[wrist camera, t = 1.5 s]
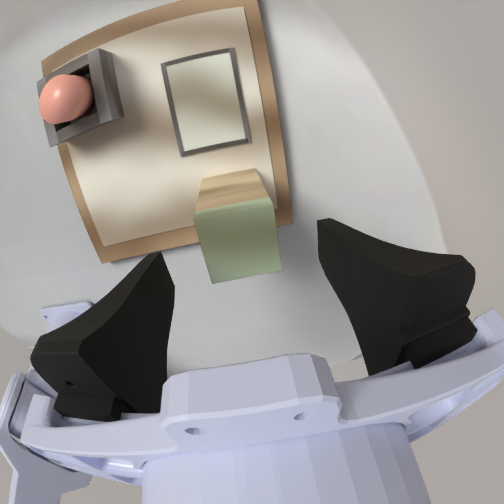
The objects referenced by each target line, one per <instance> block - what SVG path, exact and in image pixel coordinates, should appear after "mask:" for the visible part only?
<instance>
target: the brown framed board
mask: <svg viewBox="0 0 504 504" xmlns="http://www.w3.org/2000/svg"><path fill="white" fill-rule="evenodd" d="M41 62H42V71H43V78H42V79H41V80H39V81H38V82H37V88H38V94H39V99H40V95H41V92H42V90H43V88H44V86H45V85H46V84H47V83H48V81H49V80H51V79H52V78H53V77H55V76H57V75H61V74H66V75H77V76H86V77H89V78H90V79H91V80H92V86H93V91H94V96H95V101H96V102H95V105H94V107H93V108H92V110H91V111H90V112H89V113H88V114H87V115H86V116H84V117H83V118H80V119H76V120H71V121H67V122H63V123H58V124H50V123H48V122H46V121H45V120H44V119H43V120H44V125H45V129H46V133H47V137H48V141H49V145H50V147H53V146H55V145H57V146H58V150H59V153H60V157H61V160H62V163H63V167H64V170H65V173H66V176H67V179H68V182H69V185H70V188H71V191H72V194H73V196H74V199H75V202H76V204H77V207H78V210H79V212H80V215H81V217H82V220H83V222H84V225H85V227H86V229H87V232H88V234H89V236H90V239H91V241H92V243H93V245H94V248H95V250H96V252H97V254H98V256H99V258H100V261H101V263H107V262H111V261H115V260H120V259H124V258H129V257H133V256H138V255H142V254H147V253H151V252H156V251H160V250H165V249H170V248H174V247H179V246H184V245H188V244H193V243H198V242H199V239H198V236H197V232H196V229H195V225H194V222H193V219H194V214H195V209H196V205H197V200H198V195H199V191H200V186H201V182H202V178H207V177H211V176H216V175H221V174H226V173H230V172H235V171H241V170H246V169H251V168H255V170H256V172H257V174H258V176H259V178H260V180H261V182H262V184H263V186H264V188H265V190H266V191H267V193H268V195H269V197H270V199H271V201H272V203H273V207H274V215H275V222H276V227H278V226H283V225H288V224H293V221H292V212H291V203H290V194H289V186H288V178H287V170H286V162H285V154H284V147H283V140H282V133H281V126H280V120H279V113H278V107H277V100H276V94H275V88H274V82H273V77H272V71H271V66H270V60H269V55H268V50H267V44H266V39H265V34H264V29H263V25H262V20H261V15H260V11H259V6H258V2H257V0H182V1H178V2H174V3H170V4H166V5H163V6H159V7H156V8H153V9H149V10H146V11H143V12H140V13H137V14H135V15H132V16H129V17H127V18H124V19H121V20H119V21H116V22H114V23H112V24H109V25H107V26H105V27H102V28H100V29H98V30H96V31H94V32H92V33H90V34H88V35H86V36H84V37H82V38H80V39H78V40H76V41H74V42H72V43H70V44H69V45H67V46H65V47H63V48H62V49H60V50H58V51H56V52H55V53H53V54H52V55H50V56H48V57H47V58H45V59H44V60H42V61H41Z"/></svg>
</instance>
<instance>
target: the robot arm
mask: <svg viewBox="0 0 504 504" xmlns="http://www.w3.org/2000/svg"><path fill="white" fill-rule="evenodd" d="M317 230H318V253H319V260H320V263H321V265H322V268H323V270H324V273H325V275H326V277H327V279H328V280H329V282H330V284H331V286H332V287H333V289H334V291H335V293H336V294H337V296H338V298H339V299H340V301H341V303H342V305H343V307H344V308H345V310H346V312H347V314H348V316H349V319H350V321H351V324H352V326H353V329H354V331H355V334H356V337H357V340H358V342H359V345H360V348H361V351H362V354H363V358H364V360H365V364H366V367H367V371H368V375H369V377H366V378H363V379H359V380H352V381H345V382H334V379H333V376H332V374H331V371H330V368H329V366H328V363H327V361H326V359H325V358H322V357H319V356H316V355H313V354H310V353H299V354H286V355H281V356H277V357H272V358H267V359H261V360H256V361H250V362H244V363H238V364H232V365H225V366H219V367H211V368H203V369H195V370H189V371H186V372H182V373H178V374H175V375H172V376H171V377H170V378H169V379H168V380H167V346H168V339H169V332H170V326H171V321H172V315H173V309H174V298H175V286H174V283H173V281H172V278H171V276H170V273H169V271H168V268H167V266H166V263H165V261H164V258H163V256H162V253H161V252H156V253H152V254H149V255H147V256H146V257H145V258H144V259H143V260H142V261H141V262H139V263H138V264H137V266H136V267H135V268H134V269H133V270H132V271H131V272H130V273H129V274H128V275H127V276H126V277H125V278H124V279H123V280H122V281H121V282H120V283H119V284H118V285H116V286H115V287H114V288H113V289H112V290H111V291H110V292H109V293H108V294H107V295H106V296H105V297H103V298H102V299H101V300H100V301H98V302H97V303H96V304H95V305H93V306H92V304H91V303H90V302H81V303H74V304H68V305H62V306H55V307H49V308H43V309H41V314H42V316H43V317H44V318H45V320H46V321H47V323H48V324H49V327H48V329H47V331H46V333H45V334H44V335H42V336H40V337H39V339H38V341H37V343H36V345H35V347H34V350H33V352H32V354H31V358H30V359H31V365H30V367H29V370H28V372H27V373H26V375H24V374H23V373H22V372H19V373H14V374H13V375H12V377H11V380H10V382H9V384H8V387H7V389H6V391H5V394H4V397H3V399H2V402H1V405H0V450H1V452H2V453H3V455H4V457H5V458H6V460H7V461H8V462H9V464H10V465H11V467H12V468H13V470H14V471H13V476H12V482H11V488H10V495H9V503H8V504H60V497H61V494H62V493H65V492H69V491H73V490H77V489H80V488H84V487H86V486H88V485H89V483H90V481H91V479H92V475H95V476H98V477H102V478H106V479H110V480H115V481H118V482H123V483H128V484H133V485H138V486H142V504H431V501H430V498H429V495H428V492H427V489H426V486H425V483H424V480H423V478H422V475H421V472H420V469H419V467H418V464H417V461H416V459H415V456H414V453H413V451H412V448H411V446H410V443H411V442H413V441H415V440H417V439H419V438H420V437H422V436H424V435H426V434H427V433H429V432H431V431H432V430H434V429H436V428H437V427H439V426H441V425H442V424H444V423H445V422H447V421H448V420H450V419H451V418H453V417H454V416H456V415H457V414H459V413H460V412H461V411H463V410H464V409H466V408H467V407H469V406H470V405H471V404H473V403H474V402H476V401H477V400H478V399H479V398H481V397H482V396H484V395H485V394H486V393H487V392H489V391H490V390H491V389H492V388H494V387H495V386H496V385H497V384H498V383H499V382H500V381H501V379H502V378H503V377H504V320H503V319H502V318H501V316H500V315H499V314H498V313H497V312H496V311H495V309H494V308H491V309H490V310H488V311H486V312H485V313H483V314H481V315H479V316H478V317H476V318H475V319H474V321H473V322H471V320H470V319H469V318H468V316H469V315H470V311H469V310H468V308H467V307H466V304H467V302H468V299H469V297H470V294H471V292H472V289H473V286H474V283H475V269H474V267H473V266H472V265H471V264H470V263H469V262H468V261H467V260H466V259H465V258H464V257H463V256H461V255H451V254H437V253H430V252H423V251H418V250H413V249H409V248H404V247H401V246H397V245H394V244H391V243H388V242H385V241H382V240H379V239H377V238H374V237H372V236H369V235H367V234H364V233H362V232H360V231H358V230H356V229H353V228H351V227H349V226H347V225H345V224H343V223H341V222H338V221H336V220H334V219H331V218H327V219H322V220H317ZM10 433H11V434H12V435H14V436H15V437H17V438H19V439H20V440H21V442H22V443H24V444H25V445H26V446H28V447H30V448H31V449H33V450H34V451H33V450H31V449H30V448H28V447H26V446H24V445H23V444H21V443H19V442H18V441H16V440H15V439H14V438H13V437H12V436H11V435H10ZM35 451H36V452H35ZM37 452H38V453H37Z"/></svg>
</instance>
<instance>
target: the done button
mask: <svg viewBox="0 0 504 504" xmlns="http://www.w3.org/2000/svg"><path fill="white" fill-rule="evenodd" d="M95 102H96V101H95V96H94V91H93V86H92V80H91V79H90V78H89V77H86V76H77V75H66V74H61V75H57V76H55V77H53V78H52V79H51V80H49V81H48V83H47V84H46V85H45V86H44V88H43V90H42V92H41V95H40V99H39V110H40V114H41V116H42V118H43V119H44V120H45V121H46V122H48V123H50V124H58V123H63V122H67V121H71V120H76V119H80V118H83V117H84V116H86V115H87V114H88V113H89V112H90V111H91V110H92V108H93V107H94V105H95Z"/></svg>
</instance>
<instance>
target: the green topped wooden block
mask: <svg viewBox="0 0 504 504" xmlns="http://www.w3.org/2000/svg"><path fill="white" fill-rule="evenodd" d="M193 222H194V225H195V229H196V232H197V236H198V239H199V243H200V246H201V249H202V253H203V256H204V259H205V262H206V266H207V269H208V272H209V275H210V279H211V282H212V284H215V283H220V282H225V281H230V280H236V279H241V278H246V277H251V276H256V275H261V274H266V273H271V272H276V271H281V270H282V268H281V260H280V252H279V244H278V237H277V229H276V222H275V215H274V207H273V203H272V201H271V199H270V197H269V195H268V193H267V191H266V190H265V188H264V186H263V184H262V182H261V180H260V178H259V176H258V174H257V172H256V170H255V168H251V169H246V170H241V171H235V172H230V173H226V174H221V175H216V176H211V177H207V178H202V182H201V186H200V191H199V195H198V200H197V205H196V209H195V214H194V219H193Z"/></svg>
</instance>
